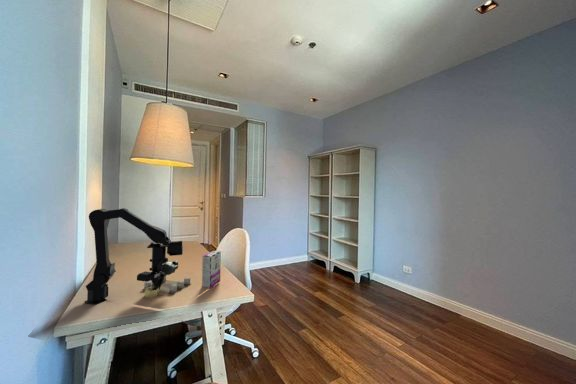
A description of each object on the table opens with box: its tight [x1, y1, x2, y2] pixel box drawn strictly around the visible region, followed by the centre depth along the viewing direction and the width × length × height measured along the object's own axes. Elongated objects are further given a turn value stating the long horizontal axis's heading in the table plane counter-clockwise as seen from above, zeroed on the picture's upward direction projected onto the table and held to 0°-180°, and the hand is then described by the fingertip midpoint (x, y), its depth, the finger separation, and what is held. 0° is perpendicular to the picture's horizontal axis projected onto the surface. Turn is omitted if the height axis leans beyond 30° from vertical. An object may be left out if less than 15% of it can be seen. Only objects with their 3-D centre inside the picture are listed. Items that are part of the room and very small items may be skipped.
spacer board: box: [141, 275, 192, 295], centre depth 113 cm, size 20×18×4 cm
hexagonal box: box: [144, 286, 160, 299], centre depth 106 cm, size 5×6×3 cm
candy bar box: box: [201, 250, 222, 289], centre depth 123 cm, size 11×5×16 cm, turn 170°
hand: (157, 289), depth 110 cm, fingers closed
